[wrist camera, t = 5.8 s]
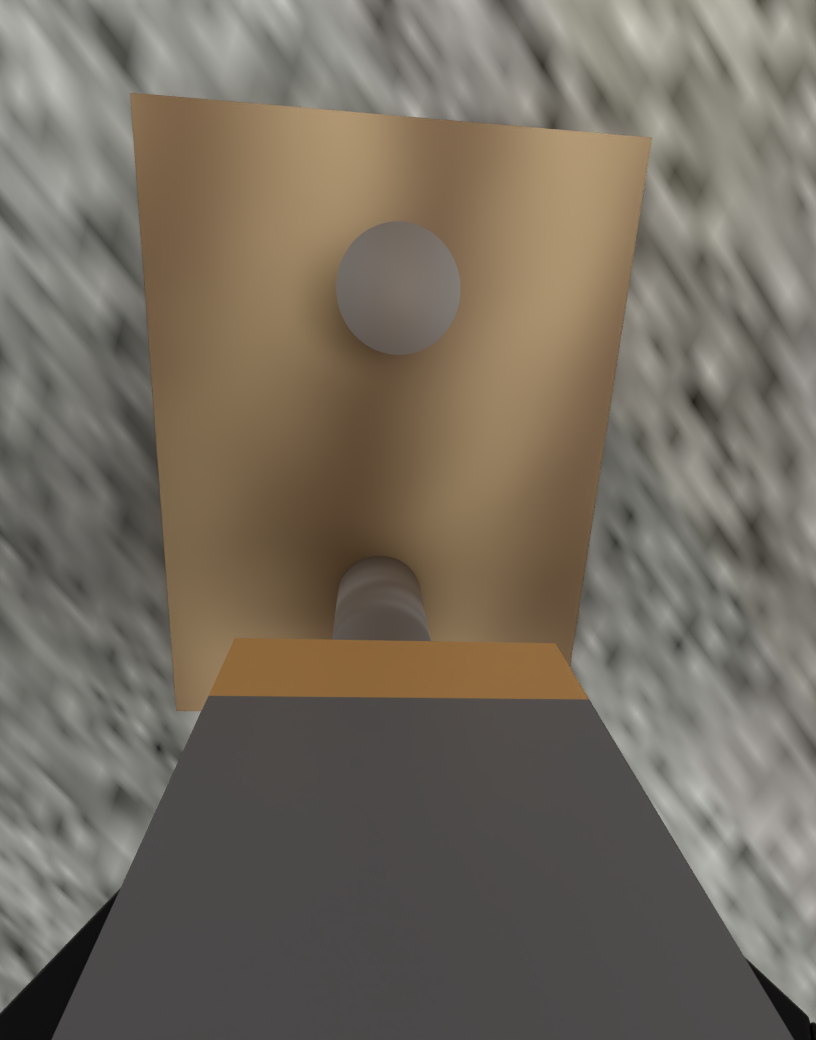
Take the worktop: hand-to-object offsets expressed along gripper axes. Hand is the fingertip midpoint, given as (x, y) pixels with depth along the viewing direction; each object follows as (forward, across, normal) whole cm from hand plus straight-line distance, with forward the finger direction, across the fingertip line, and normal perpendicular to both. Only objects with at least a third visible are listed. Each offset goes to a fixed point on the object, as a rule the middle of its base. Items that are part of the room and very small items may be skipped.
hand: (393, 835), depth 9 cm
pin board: (+10, 0, -4) cm, 10 cm away
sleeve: (+1, 0, 0) cm, 1 cm away
